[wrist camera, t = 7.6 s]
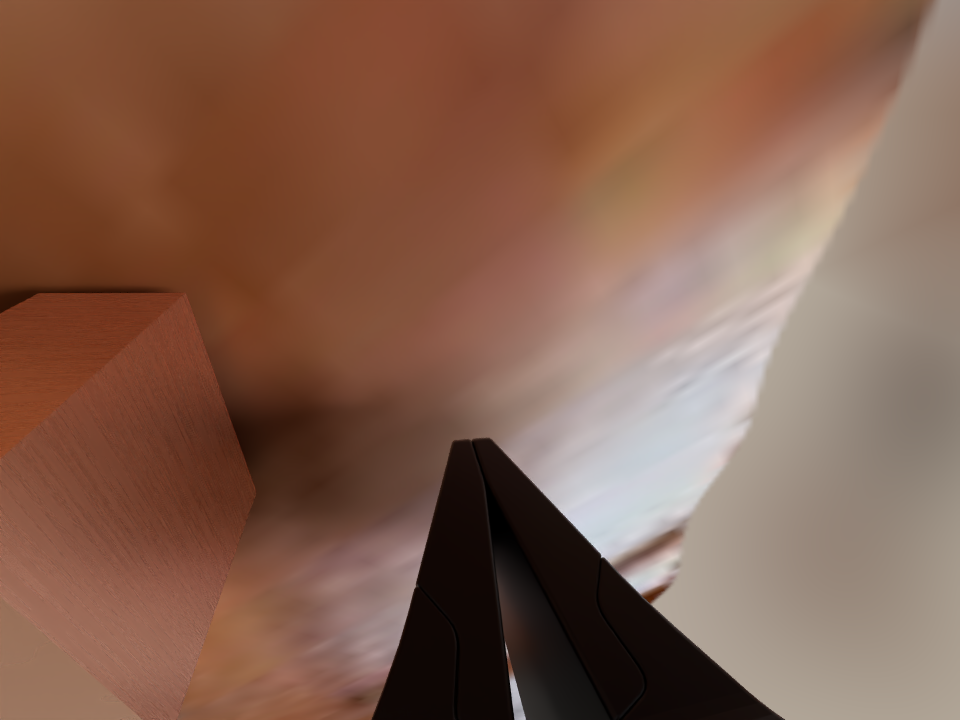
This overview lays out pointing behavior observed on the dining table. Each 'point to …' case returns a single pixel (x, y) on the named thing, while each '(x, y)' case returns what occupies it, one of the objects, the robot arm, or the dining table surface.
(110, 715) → the shaft
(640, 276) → the dining table surface
